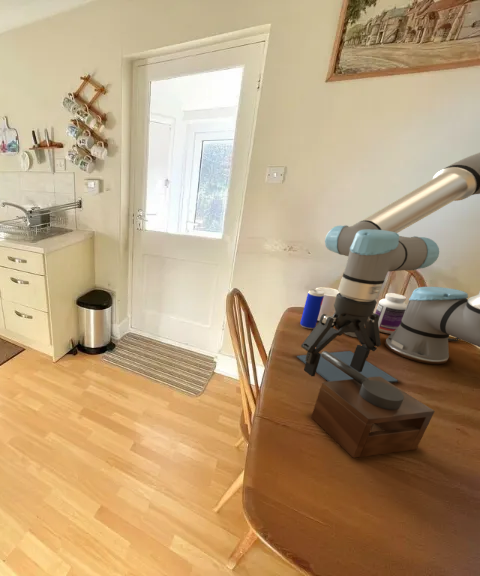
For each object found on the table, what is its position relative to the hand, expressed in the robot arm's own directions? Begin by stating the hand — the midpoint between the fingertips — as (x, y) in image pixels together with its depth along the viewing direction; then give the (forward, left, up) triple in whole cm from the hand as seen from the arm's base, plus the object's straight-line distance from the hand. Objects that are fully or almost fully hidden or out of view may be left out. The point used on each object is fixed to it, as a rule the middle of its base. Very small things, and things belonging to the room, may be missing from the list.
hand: (332, 371), depth 81 cm
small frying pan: (0, +6, +1) cm, 6 cm away
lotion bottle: (-40, -31, -10) cm, 52 cm away
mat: (-18, -12, -10) cm, 24 cm away
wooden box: (0, +11, -10) cm, 15 cm away
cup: (-38, -43, -10) cm, 58 cm away
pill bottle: (-55, -32, -10) cm, 65 cm away
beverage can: (-28, -39, -10) cm, 49 cm away
